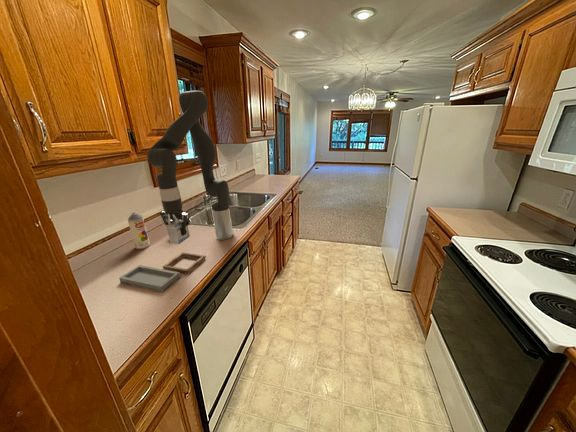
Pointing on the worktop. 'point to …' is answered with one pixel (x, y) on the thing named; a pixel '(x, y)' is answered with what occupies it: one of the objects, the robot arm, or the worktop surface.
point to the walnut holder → (180, 256)
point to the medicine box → (176, 233)
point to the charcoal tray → (150, 278)
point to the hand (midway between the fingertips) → (179, 234)
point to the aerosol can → (138, 231)
